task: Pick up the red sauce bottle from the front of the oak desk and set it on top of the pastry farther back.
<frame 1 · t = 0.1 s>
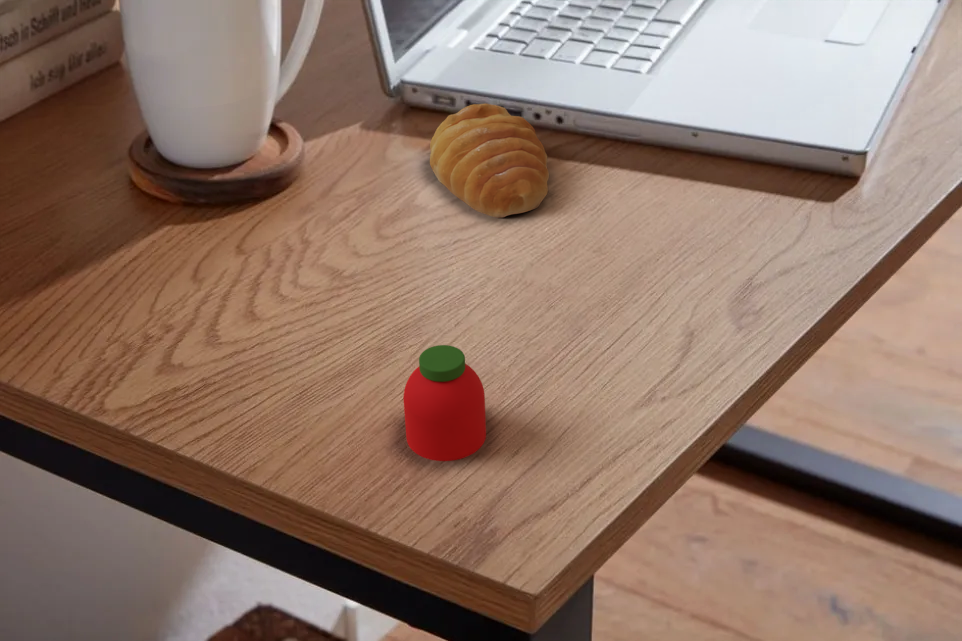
red sauce bottle: (446, 443, 61), on the table
pastry: (495, 185, 81), on the table
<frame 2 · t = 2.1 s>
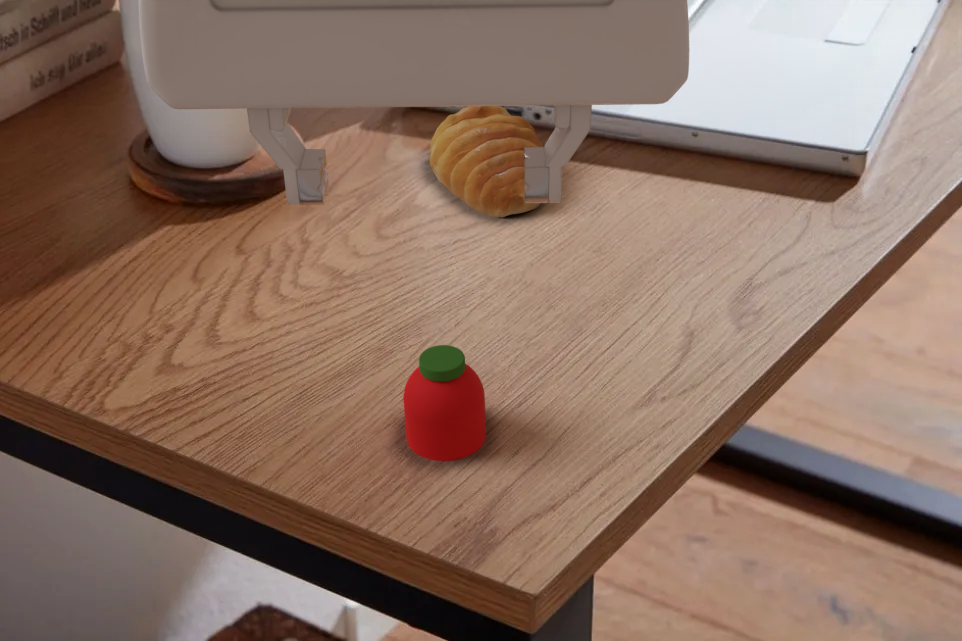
hand: (425, 197, 54), 13 cm above the table, tool pointing down, fingers open, 8 cm apart
nothing on the table moved.
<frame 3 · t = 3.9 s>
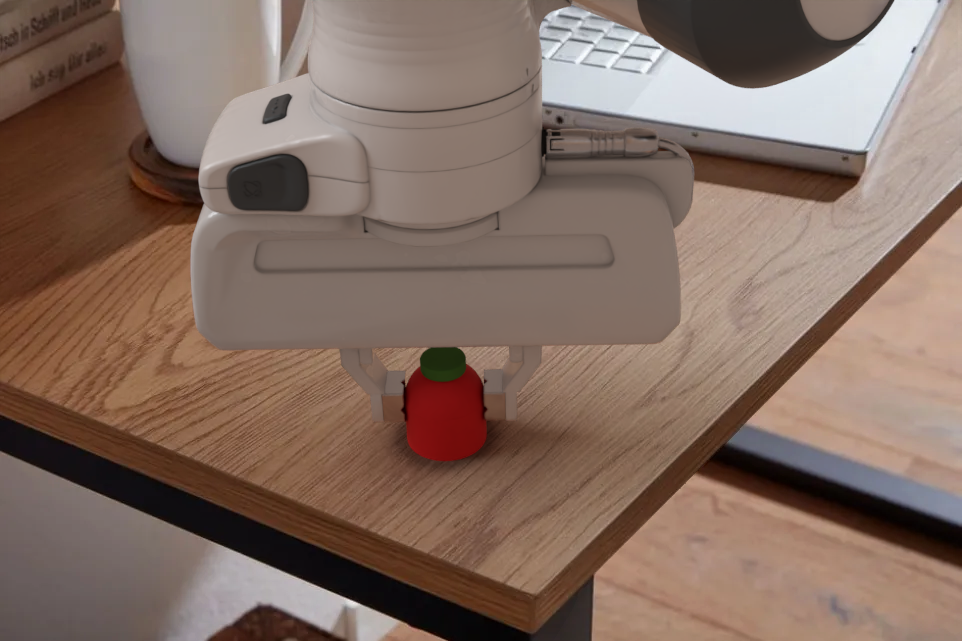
hand: (445, 413, 60), 2 cm above the table, tool pointing down, fingers closed on red sauce bottle, 3 cm apart
red sauce bottle: (447, 443, 61), on the table, touching gripper
everything else where it was.
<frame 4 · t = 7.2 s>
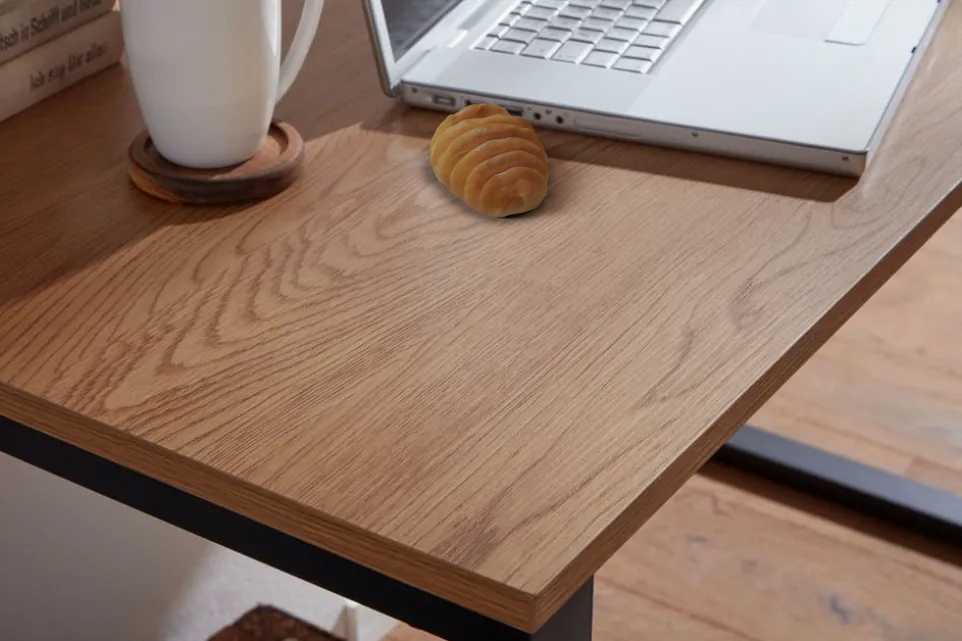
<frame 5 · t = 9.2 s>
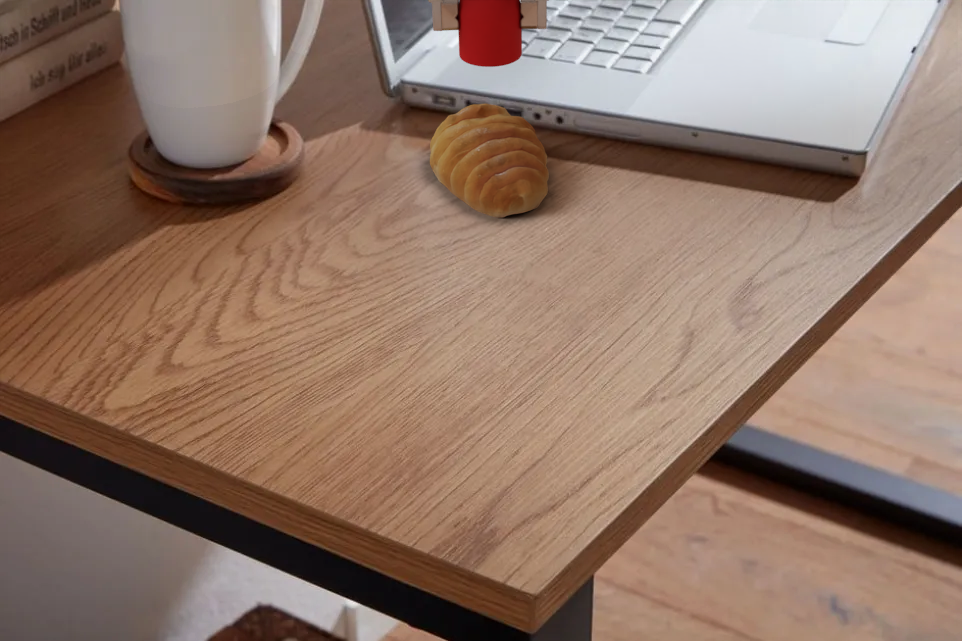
hand: (489, 26, 76), 10 cm above the table, tool pointing down, fingers closed on red sauce bottle, 3 cm apart
red sauce bottle: (490, 54, 77), point 8 cm above the table, touching gripper
everything else where it was.
when the fingers open (5 cm above the table, at t = 10.7 s): red sauce bottle stays where it is, resting on pastry.
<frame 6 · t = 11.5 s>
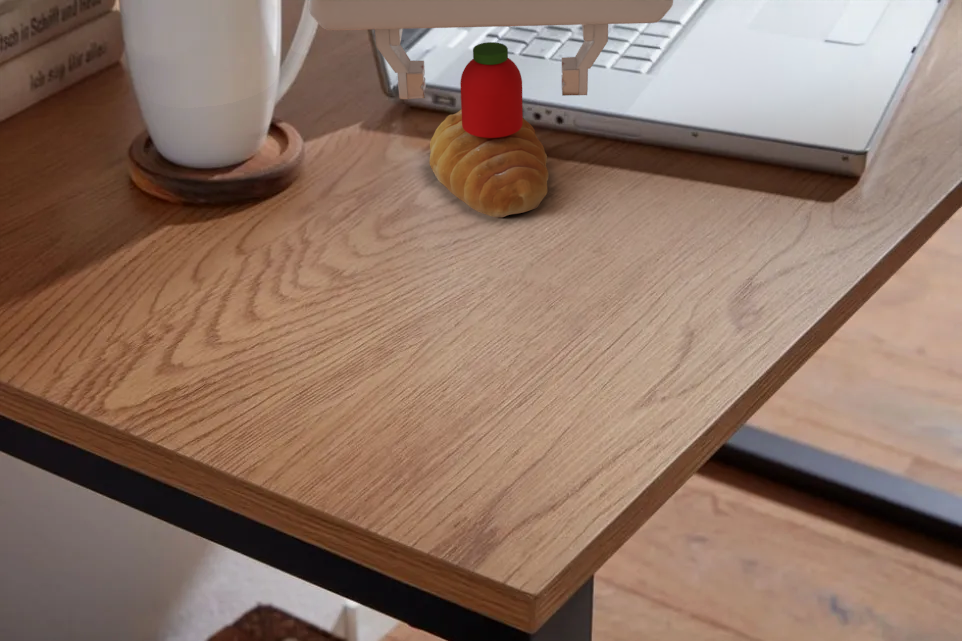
hand: (493, 93, 78), 6 cm above the table, tool pointing down, fingers open, 8 cm apart
red sauce bottle: (492, 124, 79), point 4 cm above the table, touching pastry
pastry: (494, 185, 81), on the table, touching red sauce bottle
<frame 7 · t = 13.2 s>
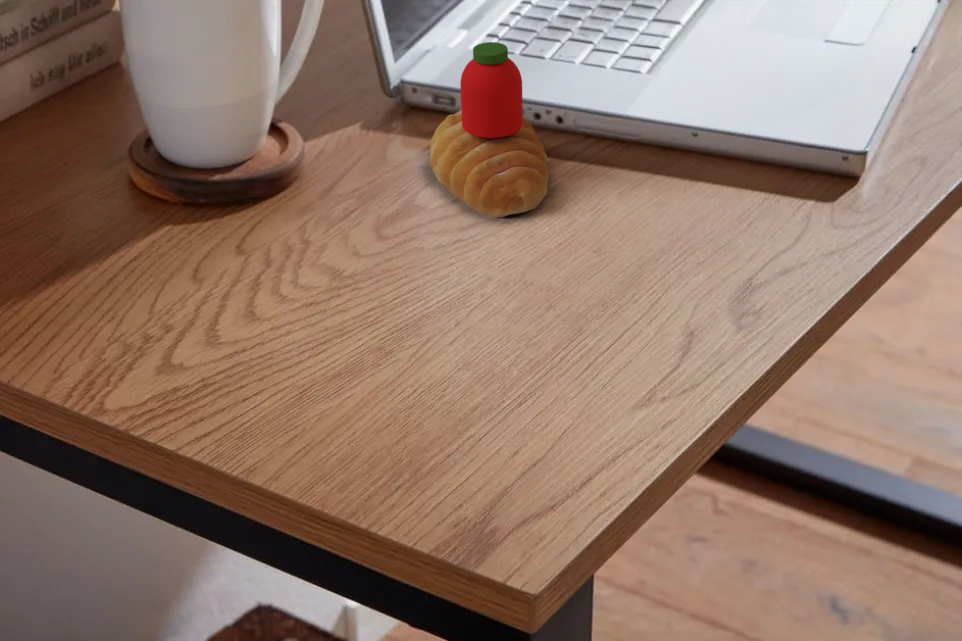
nothing on the table moved.
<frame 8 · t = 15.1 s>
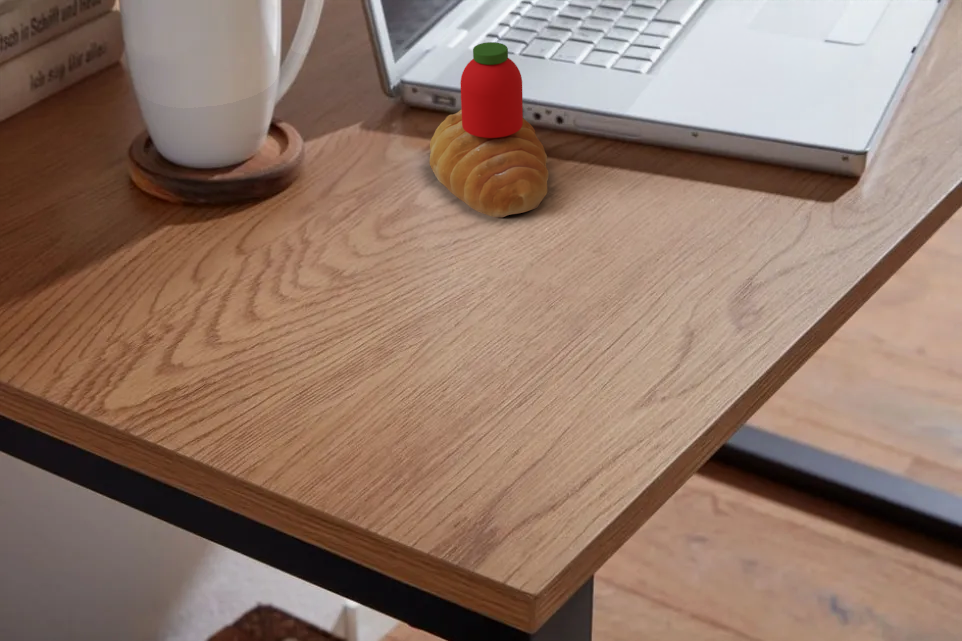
nothing on the table moved.
at the end: red sauce bottle inside the target area on the pastry (0.1 cm from its centre), point 4.0 cm above the pastry's base; the gripper is holding nothing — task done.
